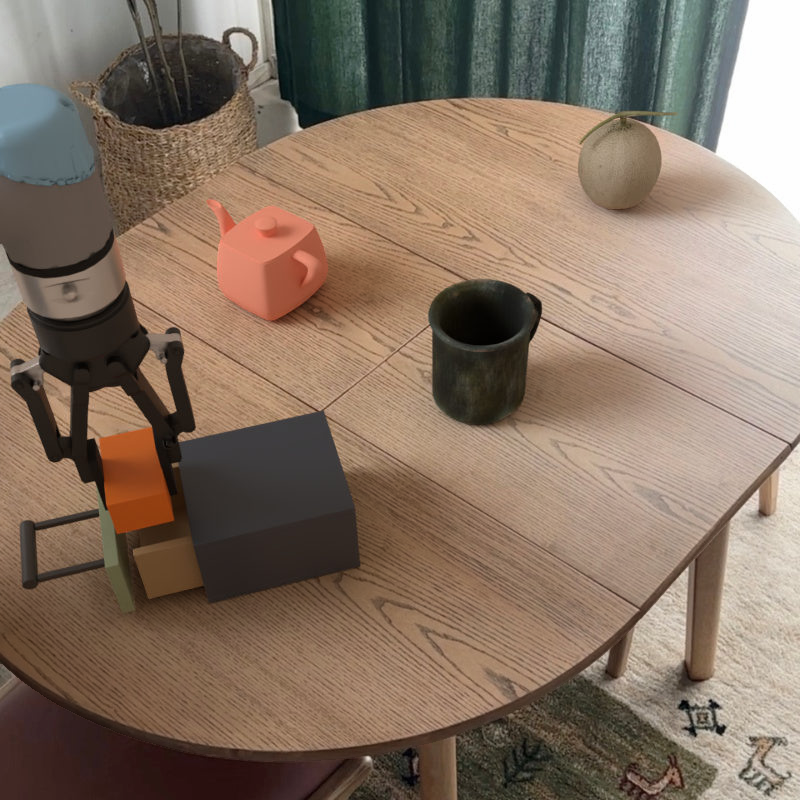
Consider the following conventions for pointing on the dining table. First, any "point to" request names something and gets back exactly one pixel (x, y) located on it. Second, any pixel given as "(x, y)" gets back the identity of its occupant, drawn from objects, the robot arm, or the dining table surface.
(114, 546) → the drawer
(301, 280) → the teapot
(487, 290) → the mug
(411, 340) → the dining table surface
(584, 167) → the fruit
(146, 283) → the dining table surface
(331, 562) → the cabinet
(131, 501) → the orange gripped block
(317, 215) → the dining table surface
